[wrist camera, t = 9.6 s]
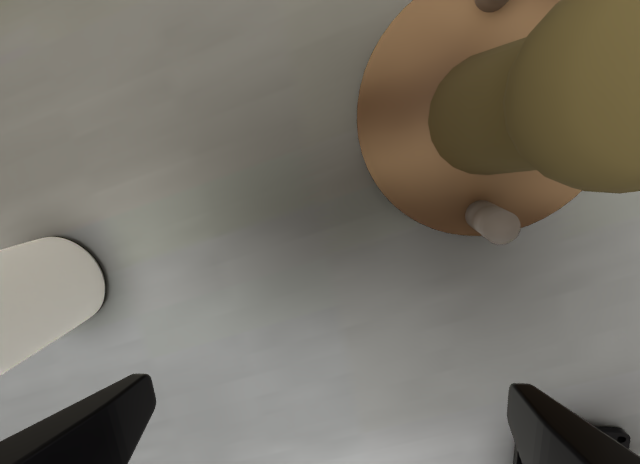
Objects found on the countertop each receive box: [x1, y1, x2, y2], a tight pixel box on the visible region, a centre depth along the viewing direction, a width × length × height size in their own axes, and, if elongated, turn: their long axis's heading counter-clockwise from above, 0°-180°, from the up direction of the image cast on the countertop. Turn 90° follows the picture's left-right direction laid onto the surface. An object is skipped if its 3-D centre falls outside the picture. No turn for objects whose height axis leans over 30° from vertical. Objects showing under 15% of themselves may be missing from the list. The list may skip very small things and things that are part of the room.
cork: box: [428, 0, 640, 193], centre depth 12 cm, size 6×6×11 cm
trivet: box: [357, 0, 582, 245], centre depth 16 cm, size 13×13×4 cm
